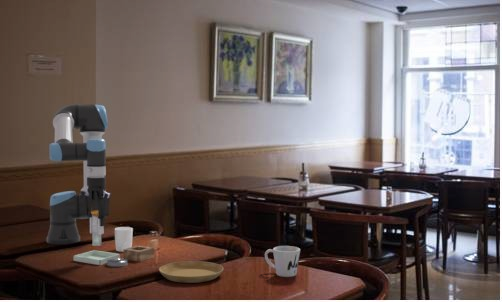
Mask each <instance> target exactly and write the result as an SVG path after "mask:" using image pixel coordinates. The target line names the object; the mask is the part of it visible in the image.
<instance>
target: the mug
mask: <svg viewBox="0 0 502 302" xmlns="http://www.w3.org/2000/svg"><path fill="white" fill-rule="evenodd" d="M269 253H273V260H274V263H272V262H271V261H270V259H269V257H268V254H269ZM300 254H301V248H299V247H297V246H292V245H291V246H290V245H278V246H275V247H273V249H271V248H269V249H267V250H266V251H265V252H264V259H265V261H266V263H267V264H268V266H270V267H271V268H272V269H275V273H276V275H277V276H279V277H282V278H283V277H284V278H292V277H295V276H297V272H298V265H299V260H300Z"/></svg>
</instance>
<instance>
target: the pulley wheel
mask: <svg viewBox="0 0 502 302" xmlns="http://www.w3.org/2000/svg"><path fill="white" fill-rule="evenodd" d="M128 262H129V260H127V259H123V258H121V257H120V258H115V259H110V260H108V261H107V263H106V265H107V267H110V268H123V267H126V266H128V265H129V264H128Z"/></svg>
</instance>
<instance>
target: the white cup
mask: <svg viewBox="0 0 502 302" xmlns="http://www.w3.org/2000/svg"><path fill="white" fill-rule="evenodd" d="M133 231H134V228H133V227H130V226H120V227H119V226H118V227H115V228H114V242H115V251H116V252H123V249H127V248H130V247H133Z"/></svg>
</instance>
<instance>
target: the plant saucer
mask: <svg viewBox="0 0 502 302" xmlns="http://www.w3.org/2000/svg"><path fill="white" fill-rule="evenodd" d="M158 270H159V273H160V274H161V275H162V277H163V278H164V279H166V280H169V281H171V282H176V283H182V284H183V283H185V284H188V283H189V284H193V283H194V284H195V283H196V284H197V283H205V282H211V281H213V280H215V279H216V278H218V277H219V276H220V275H221V274H222V273H223V271H224V267H223V265H221V264H218V263H215V262H210V261H201V260H200V261H197V260H192V261H191V260H188V261H186V260H185V261H176V262H175V261H174V262H169V263H166V264H164V265H162V266H160V267H159V268H158Z"/></svg>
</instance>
